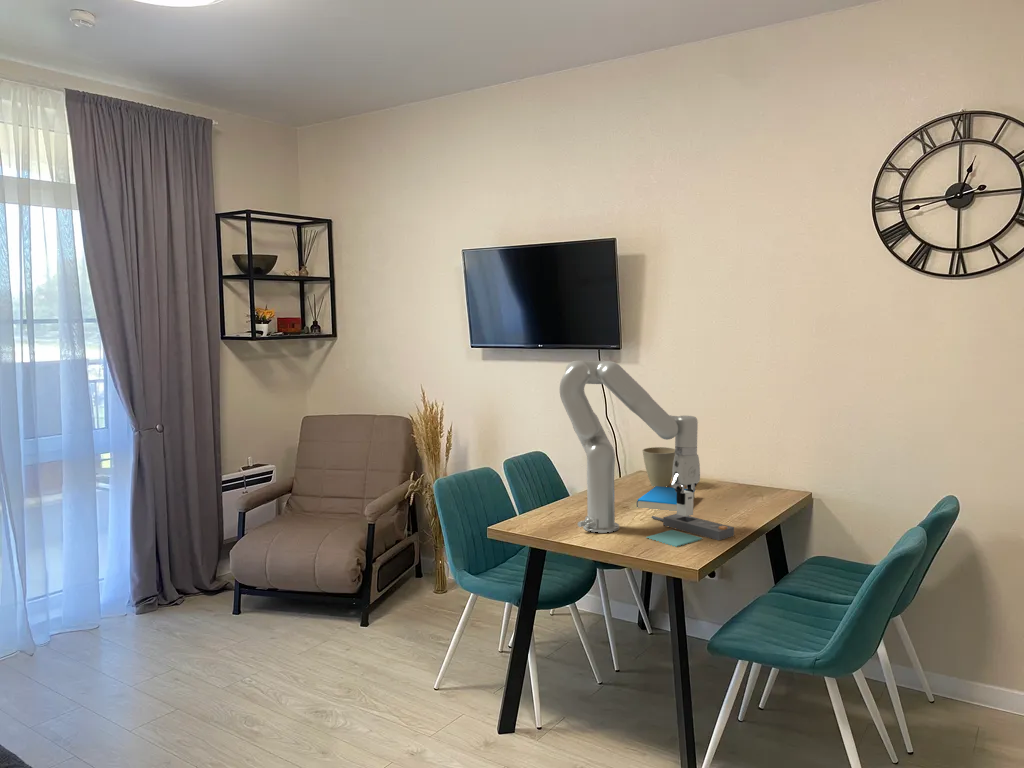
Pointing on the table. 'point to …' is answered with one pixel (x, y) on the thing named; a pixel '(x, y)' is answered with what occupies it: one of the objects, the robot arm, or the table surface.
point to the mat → (674, 538)
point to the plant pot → (659, 465)
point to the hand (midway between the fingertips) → (685, 502)
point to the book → (659, 499)
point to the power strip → (697, 526)
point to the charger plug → (686, 505)
